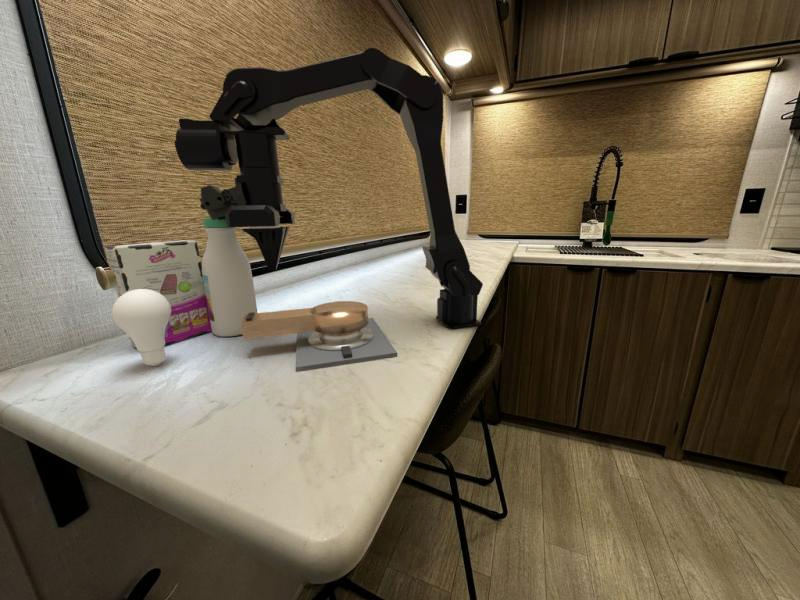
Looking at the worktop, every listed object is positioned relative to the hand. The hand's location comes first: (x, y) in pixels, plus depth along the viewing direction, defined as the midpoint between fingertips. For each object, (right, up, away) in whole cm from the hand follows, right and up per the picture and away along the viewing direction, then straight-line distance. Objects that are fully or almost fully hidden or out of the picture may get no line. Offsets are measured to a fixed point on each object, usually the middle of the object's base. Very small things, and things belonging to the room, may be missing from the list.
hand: (272, 270), depth 52 cm
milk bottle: (-9, -11, +5) cm, 15 cm away
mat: (+12, -12, -1) cm, 17 cm away
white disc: (+12, -12, -1) cm, 17 cm away
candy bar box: (-18, -12, +2) cm, 21 cm away
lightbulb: (-13, -14, -8) cm, 21 cm away
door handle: (+7, -9, -3) cm, 12 cm away
